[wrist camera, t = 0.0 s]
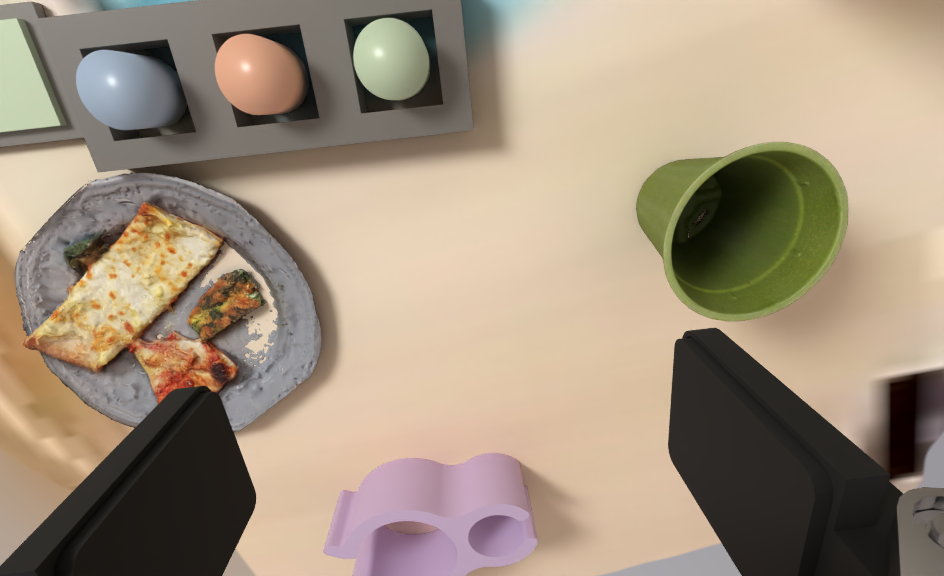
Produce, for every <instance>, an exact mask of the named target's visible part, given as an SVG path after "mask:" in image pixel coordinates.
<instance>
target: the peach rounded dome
mask: <svg viewBox="0 0 944 576" xmlns="http://www.w3.org/2000/svg"><path fill="white" fill-rule="evenodd" d="M215 75H216V80H217V83H218V85H219V88H220V90H221V91H222V93H223V95H224V96H225V97H226V98H227V100H228V101H229V102H230V103H231V104H233V105H234V106H235V107H236V108H238V109H240V110H242V111H244V112H246V113H249V114H253V115H269V114H284V113H288V112H291V111H293V110H295V109H297V108H298V107H299V106H300V105H301V104H302V103H303V101H304V100H305V98H306V95H307V92H308V85H309V81H308V74H307V71H306V68H305V66H304V64H303V62H302V60H301V59H300V57H299V56H298V55H297V54H296V53H295V52H294V51H293V50H291V49H290V48H289V47H287V46H285V45H283V44H280V43H278V42H275V41H272V40H269V39H266V38H263V37H260V36H257V35H253V34H240V35H236V36H233V37H231V38H230V39H228V40H227V41H226V42H225V43H224V44H223V45H222V46H221V48H220V49H219V51H218V53H217V56H216V60H215Z"/></svg>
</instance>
